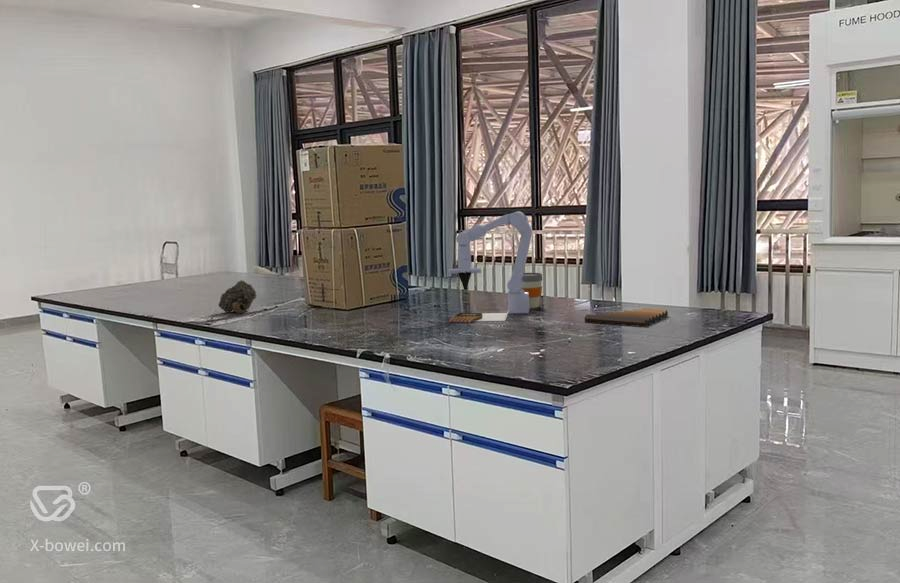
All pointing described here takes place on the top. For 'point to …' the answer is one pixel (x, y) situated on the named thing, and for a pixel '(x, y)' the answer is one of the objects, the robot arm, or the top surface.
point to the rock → (238, 298)
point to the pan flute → (629, 317)
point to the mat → (493, 317)
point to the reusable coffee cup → (533, 288)
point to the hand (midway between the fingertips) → (465, 289)
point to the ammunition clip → (466, 317)
